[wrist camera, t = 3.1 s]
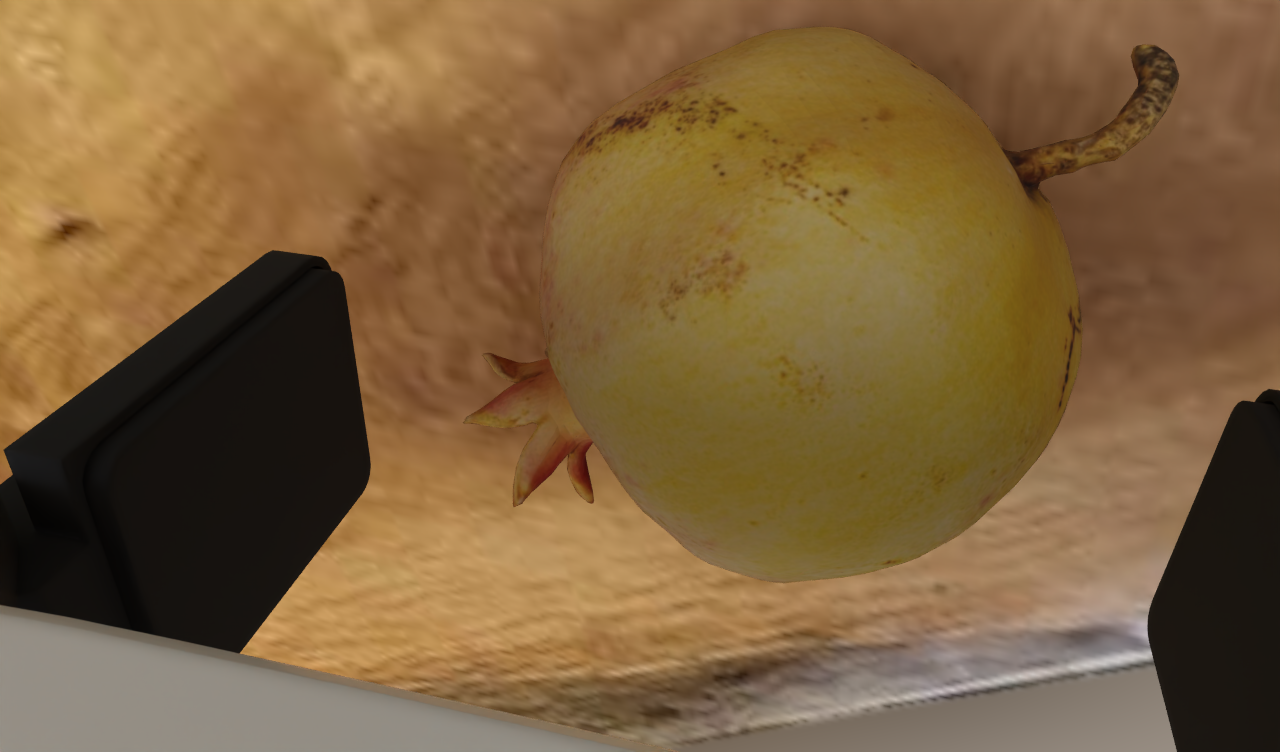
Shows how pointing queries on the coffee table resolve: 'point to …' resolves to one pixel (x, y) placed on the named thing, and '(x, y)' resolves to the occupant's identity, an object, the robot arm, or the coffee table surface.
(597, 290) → the fruit
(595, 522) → the coffee table surface
